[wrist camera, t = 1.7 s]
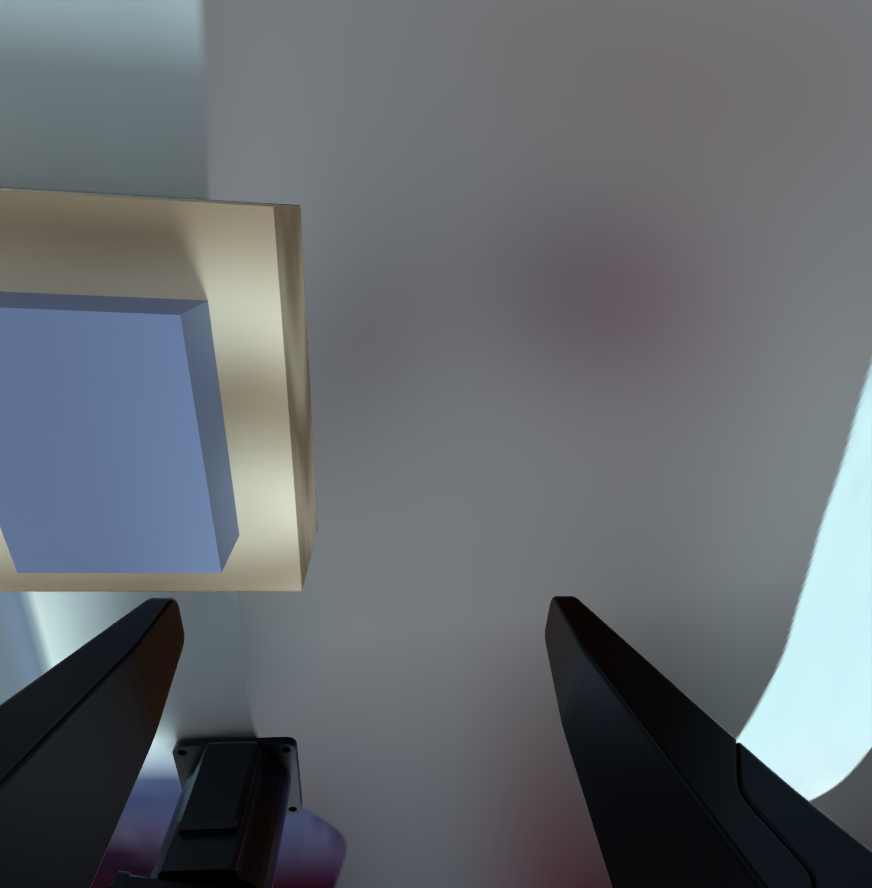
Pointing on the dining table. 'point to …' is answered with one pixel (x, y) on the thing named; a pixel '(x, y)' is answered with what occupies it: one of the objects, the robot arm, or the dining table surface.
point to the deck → (235, 343)
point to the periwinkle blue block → (112, 436)
